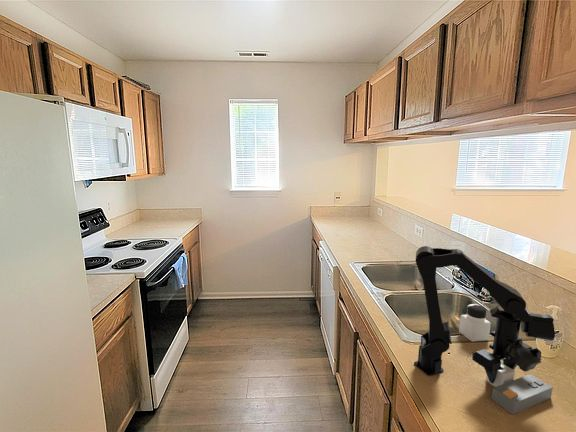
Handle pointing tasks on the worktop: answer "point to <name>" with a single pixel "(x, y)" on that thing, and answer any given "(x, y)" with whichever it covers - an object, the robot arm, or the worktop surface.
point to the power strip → (521, 393)
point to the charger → (503, 376)
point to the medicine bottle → (475, 324)
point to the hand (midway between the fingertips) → (499, 379)
